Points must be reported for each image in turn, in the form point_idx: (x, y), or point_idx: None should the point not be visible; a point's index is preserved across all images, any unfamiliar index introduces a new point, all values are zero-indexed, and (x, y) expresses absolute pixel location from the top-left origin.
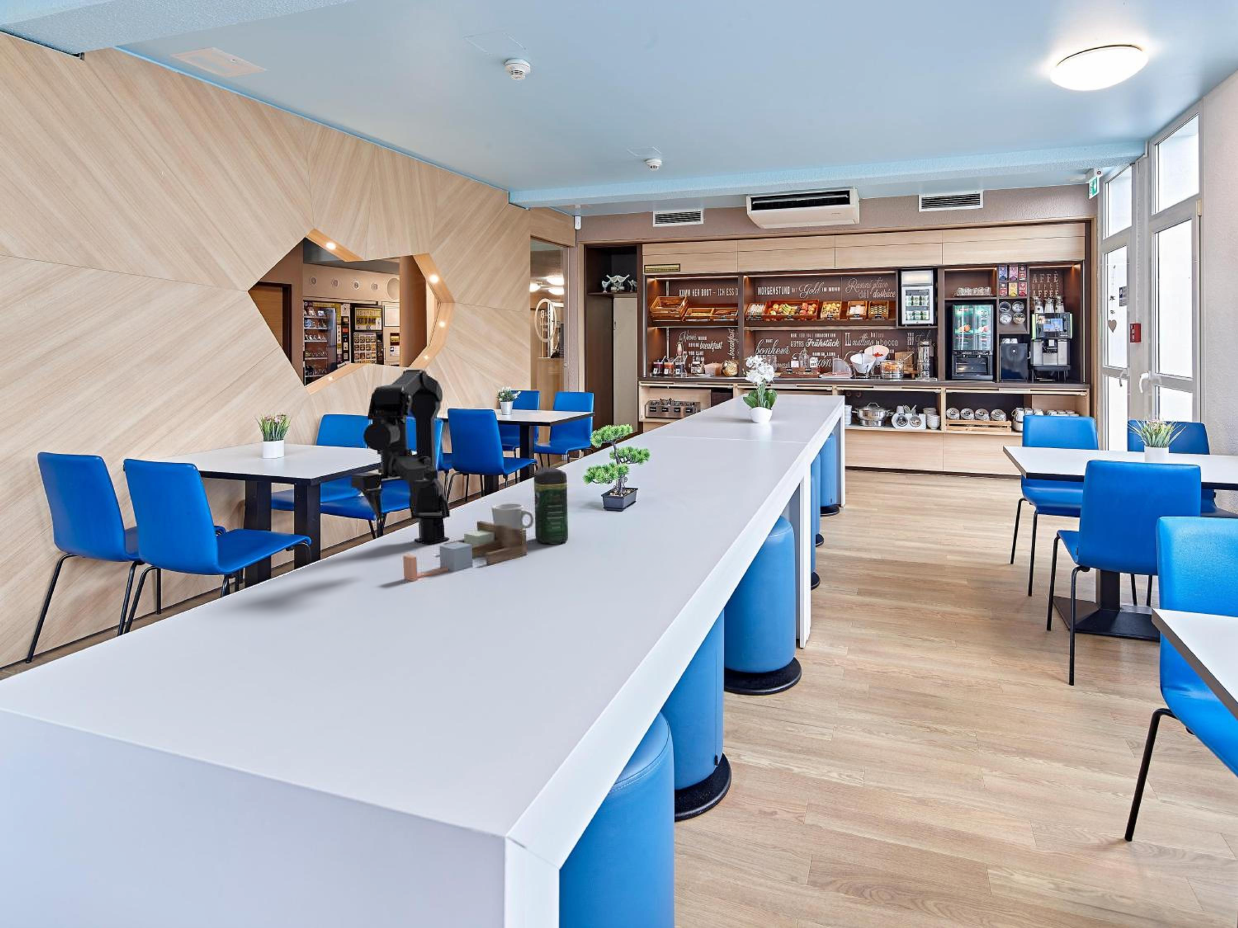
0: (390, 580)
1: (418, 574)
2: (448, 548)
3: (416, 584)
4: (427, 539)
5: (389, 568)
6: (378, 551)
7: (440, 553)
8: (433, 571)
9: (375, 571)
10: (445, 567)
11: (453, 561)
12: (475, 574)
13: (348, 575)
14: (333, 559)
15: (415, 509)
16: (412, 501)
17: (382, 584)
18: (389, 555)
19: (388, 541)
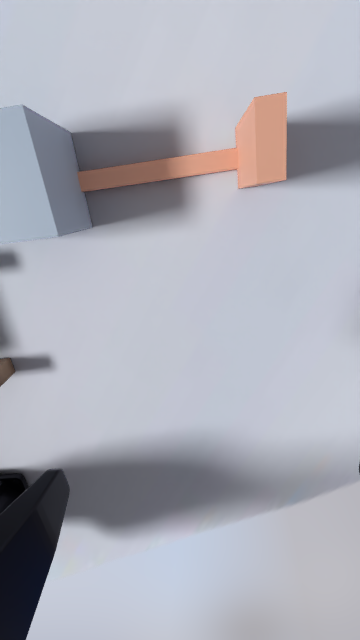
0: (301, 206)
1: (208, 171)
2: (37, 156)
3: (272, 65)
4: (14, 496)
5: (221, 342)
6: (156, 500)
7: (71, 226)
8: (145, 168)
9: (269, 342)
10: (84, 189)
11: (54, 128)
12: (13, 9)
13: (347, 358)
14: (275, 507)
15: (55, 487)
16: (35, 581)
17: (351, 177)
18: (152, 455)
19: (96, 551)
